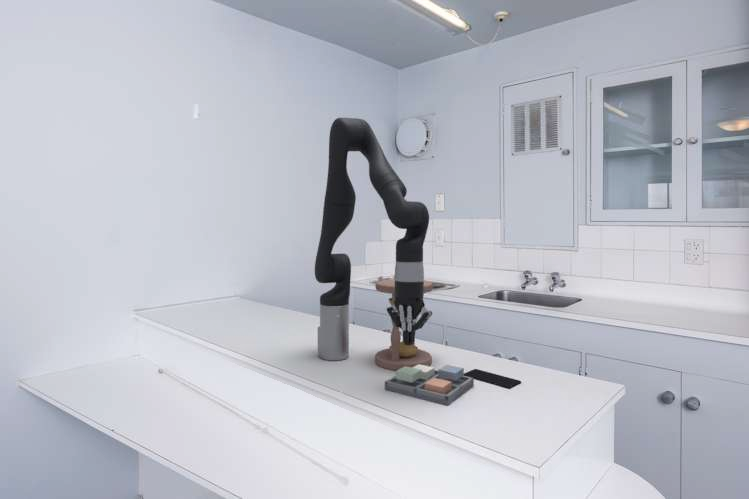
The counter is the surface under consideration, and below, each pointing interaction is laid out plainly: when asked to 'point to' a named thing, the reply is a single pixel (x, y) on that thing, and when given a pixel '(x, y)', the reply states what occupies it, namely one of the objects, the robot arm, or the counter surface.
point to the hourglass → (398, 351)
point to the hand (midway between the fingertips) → (408, 344)
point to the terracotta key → (438, 385)
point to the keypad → (419, 391)
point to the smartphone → (492, 378)
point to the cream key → (426, 370)
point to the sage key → (408, 374)
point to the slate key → (451, 372)
